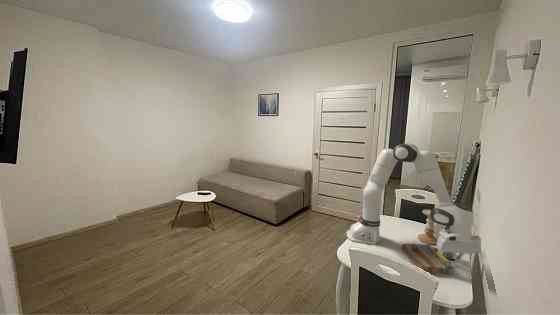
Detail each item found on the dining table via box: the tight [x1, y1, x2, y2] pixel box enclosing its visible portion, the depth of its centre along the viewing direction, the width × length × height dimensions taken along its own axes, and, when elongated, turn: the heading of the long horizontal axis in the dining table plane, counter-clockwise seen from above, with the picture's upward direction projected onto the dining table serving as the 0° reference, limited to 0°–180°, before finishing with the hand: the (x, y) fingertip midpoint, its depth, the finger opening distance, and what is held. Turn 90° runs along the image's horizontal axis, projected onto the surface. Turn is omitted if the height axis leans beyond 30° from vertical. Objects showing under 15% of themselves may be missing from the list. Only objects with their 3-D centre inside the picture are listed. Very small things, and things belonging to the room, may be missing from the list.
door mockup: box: [401, 243, 455, 276], centre depth 123 cm, size 16×22×6 cm
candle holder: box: [417, 209, 438, 246], centre depth 144 cm, size 12×12×20 cm
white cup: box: [433, 223, 444, 238], centre depth 152 cm, size 8×8×10 cm
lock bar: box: [431, 246, 452, 267], centre depth 118 cm, size 13×3×3 cm, turn 175°
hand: (456, 258), depth 115 cm, fingers closed
